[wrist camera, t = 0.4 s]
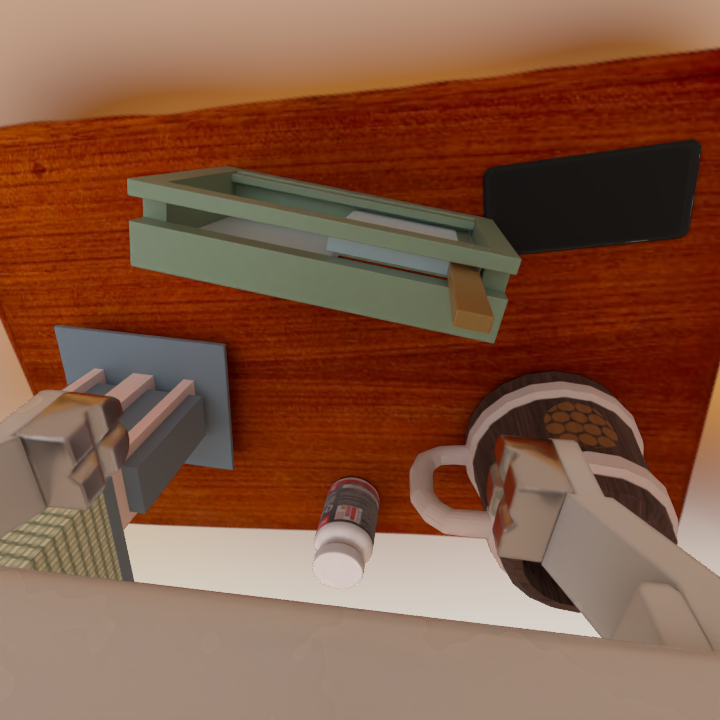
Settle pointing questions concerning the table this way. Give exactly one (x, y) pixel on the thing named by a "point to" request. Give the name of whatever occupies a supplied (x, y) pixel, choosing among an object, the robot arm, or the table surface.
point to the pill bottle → (346, 533)
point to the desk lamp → (131, 443)
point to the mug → (545, 420)
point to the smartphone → (594, 197)
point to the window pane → (429, 268)
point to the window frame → (310, 245)
